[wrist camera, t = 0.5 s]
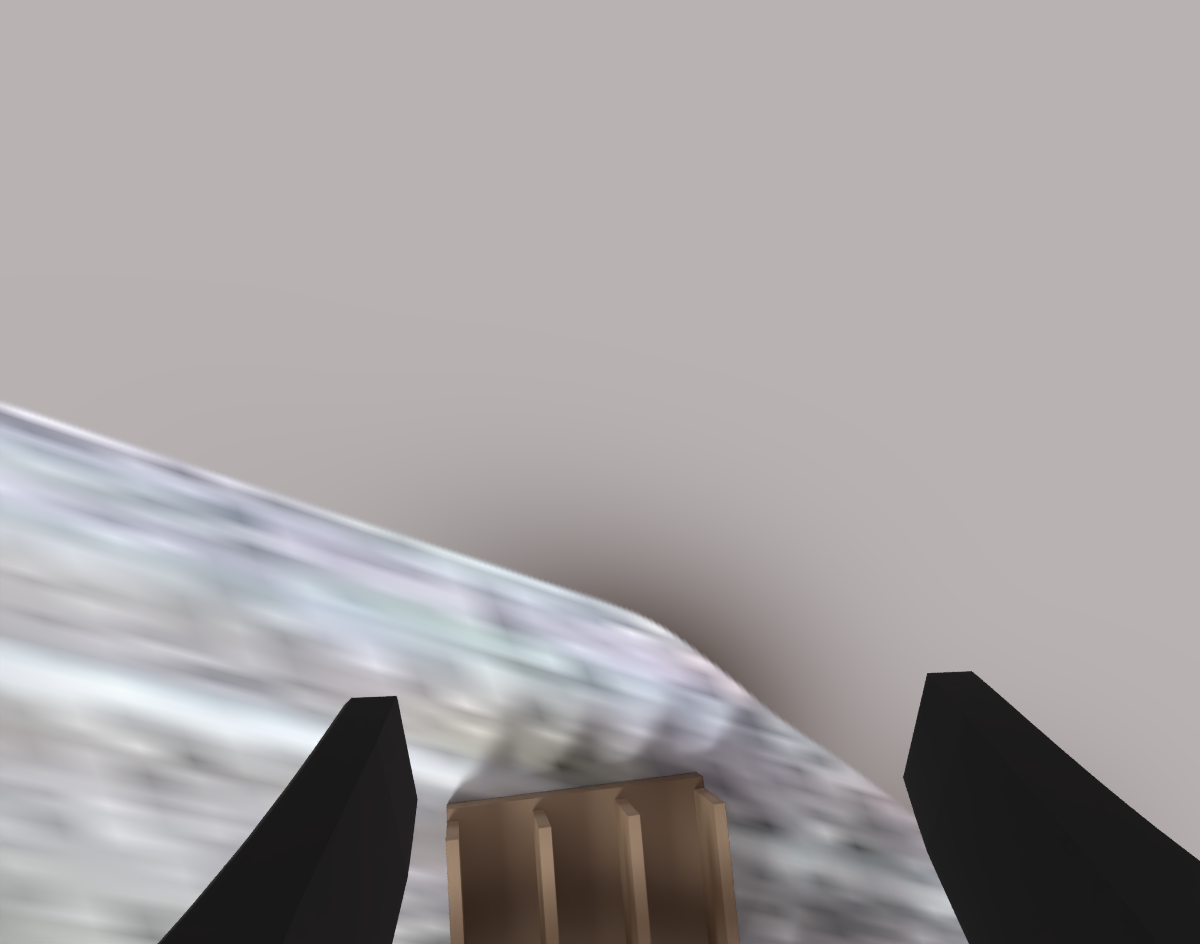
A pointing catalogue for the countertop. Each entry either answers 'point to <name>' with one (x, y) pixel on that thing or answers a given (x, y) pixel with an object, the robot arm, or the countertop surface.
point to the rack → (593, 866)
